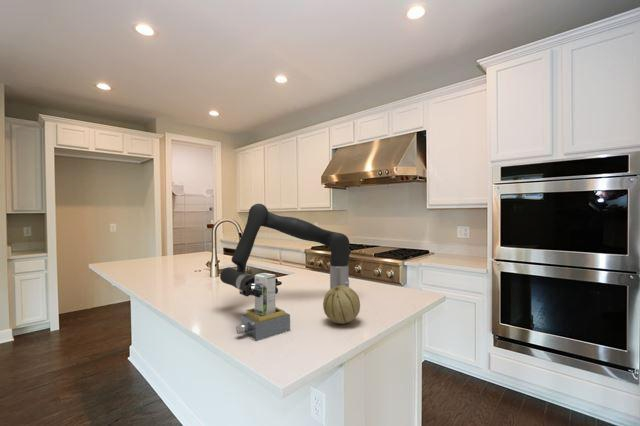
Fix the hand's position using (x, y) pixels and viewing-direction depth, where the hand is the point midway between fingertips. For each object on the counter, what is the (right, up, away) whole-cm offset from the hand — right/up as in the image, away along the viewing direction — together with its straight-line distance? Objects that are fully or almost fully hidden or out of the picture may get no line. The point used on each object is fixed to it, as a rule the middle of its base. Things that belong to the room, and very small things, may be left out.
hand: (268, 292), depth 112 cm
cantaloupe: (+28, -14, +9) cm, 33 cm away
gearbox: (-3, -15, +1) cm, 15 cm away
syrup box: (-1, -8, +2) cm, 9 cm away
